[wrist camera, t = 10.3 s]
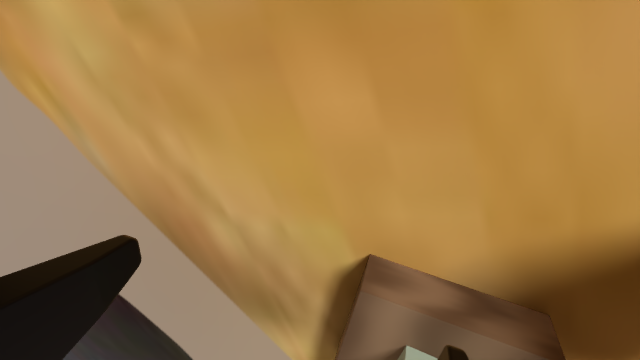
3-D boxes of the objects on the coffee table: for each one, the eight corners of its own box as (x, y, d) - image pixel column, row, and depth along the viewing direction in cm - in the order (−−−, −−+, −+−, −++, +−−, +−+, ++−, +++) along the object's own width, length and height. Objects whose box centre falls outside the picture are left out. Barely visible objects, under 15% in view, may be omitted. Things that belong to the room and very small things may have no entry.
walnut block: (547, 309, 21) (568, 366, 18) (472, 399, 27) (477, 453, 24) (371, 249, 23) (360, 290, 20) (338, 345, 30) (326, 389, 26)
